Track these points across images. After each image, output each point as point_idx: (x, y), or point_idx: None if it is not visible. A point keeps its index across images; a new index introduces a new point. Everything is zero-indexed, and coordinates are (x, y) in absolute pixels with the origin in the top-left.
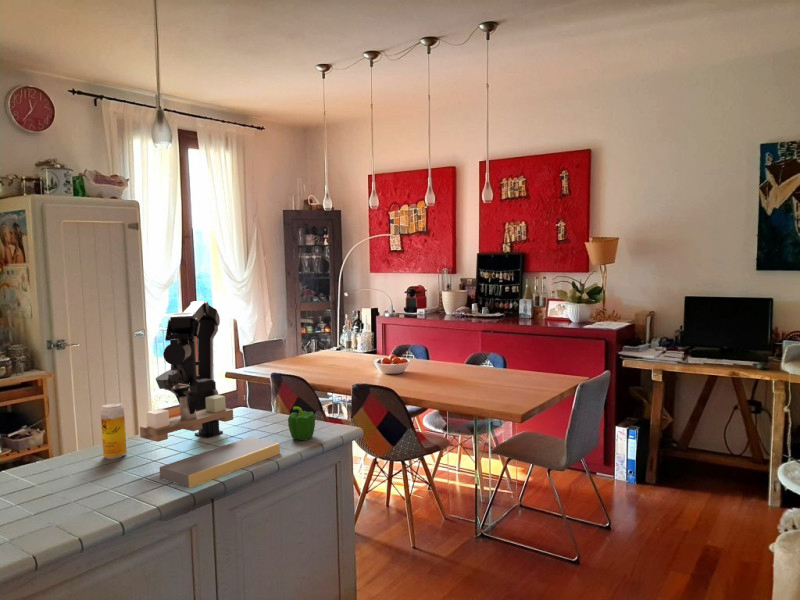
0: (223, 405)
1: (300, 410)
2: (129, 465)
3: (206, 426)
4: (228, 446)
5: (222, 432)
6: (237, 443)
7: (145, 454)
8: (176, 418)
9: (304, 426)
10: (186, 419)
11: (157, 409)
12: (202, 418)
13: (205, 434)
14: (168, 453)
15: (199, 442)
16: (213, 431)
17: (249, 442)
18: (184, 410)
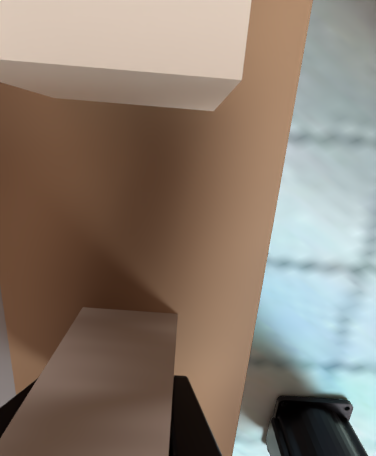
0: None
1: None
2: (323, 29)
3: (305, 443)
4: (4, 317)
5: (267, 446)
6: (10, 356)
7: (369, 173)
8: (207, 294)
9: None
10: (93, 307)
11: (247, 3)
12: (15, 378)
13: (298, 410)
14: (281, 224)
15: (268, 356)
16: (273, 431)
17: None
18: (87, 371)
